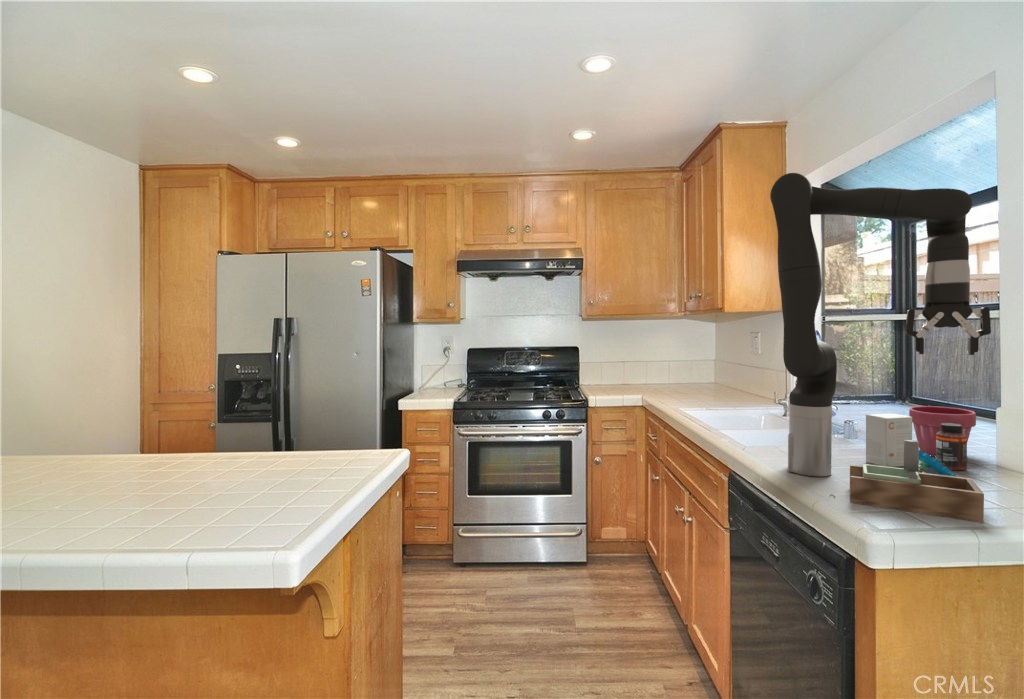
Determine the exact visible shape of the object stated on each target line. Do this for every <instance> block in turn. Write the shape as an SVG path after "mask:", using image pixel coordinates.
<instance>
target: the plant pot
mask: <svg viewBox="0 0 1024 699" xmlns="http://www.w3.org/2000/svg"><path fill="white" fill-rule="evenodd" d="M908 414H909V415H908V416H910V417H912V425H913V429H914V432H915V436H916V441H918V442H919V450H920V451H922V452H923V453H927V454H929V455H931V457H934V456H936V434H937V432H939V431H940V430H942V429H941V424H942V423H953V424H959V425H962V430H961V431H962V433H964V434H965V435H966V436H967V443H968V442H969V439H970V435H971V431H972V428H974V427H976V425H977V414H976V412H975V411H974V410H970V409H964V408H958V407H951V406H950V407H949V406H934V405H933V406H932V405H923V406H922V405H921V406H920V405H918V406H916V405H915V406H911V407H909V412H908Z"/></svg>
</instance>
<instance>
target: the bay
mask: <svg viewBox="0 0 1024 699" xmlns="http://www.w3.org/2000/svg"><path fill="white" fill-rule="evenodd" d="M917 473H918V475H919V477H920V479H921V484H913V483H905V482H897V481H889V480H881V479H873V478H865V477H863V465H857V464H849V501H850V503H851V504H859V505H864V506H871V507H879V508H884V509H885V508H886V509H893V510H899V511H903V512H904V511H906V512H913V513H919V514H924V513H926V514H925V515H931V514H933V515H932V516H937V515H938V517H946V518H952V519H957V520H958V519H959V520H965V521H970V522H971V521H972V522H977V523H978V522H979V523H984V516H985V515H984V512H985V493H984V492H983V490H981V489H980V487H979V486H978V485H977V483H976V482H975V481H974V479H972V478H971V477H970V478H969V477H964V476H963V477H961V476H957V477H954V476H945V475H937V474H928V473H925V472H922V473H919V472H917Z"/></svg>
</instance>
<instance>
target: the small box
mask: <svg viewBox="0 0 1024 699" xmlns="http://www.w3.org/2000/svg"><path fill="white" fill-rule="evenodd" d="M904 440H913V422H912V417H910V416H909V415H904V414H900V413H899V414H898V413H870V414H865V462H866V463H869V464H871V465H877V466H885V467H894V468H900V467H904Z"/></svg>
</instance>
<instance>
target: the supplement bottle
mask: <svg viewBox="0 0 1024 699" xmlns="http://www.w3.org/2000/svg"><path fill="white" fill-rule="evenodd" d="M941 429H942V430H940V431H939V432H937V434H936V457H935V459H936V460H938V461H940V462H941V463H940V464H941V465H942V466H943V467H947V468H948V469H950V470H951V471H966V470H967V469H968V442H967V436H966V435H965V434H964V433H962V431H961V430H962V425H959V424H953V423H942V424H941Z"/></svg>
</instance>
